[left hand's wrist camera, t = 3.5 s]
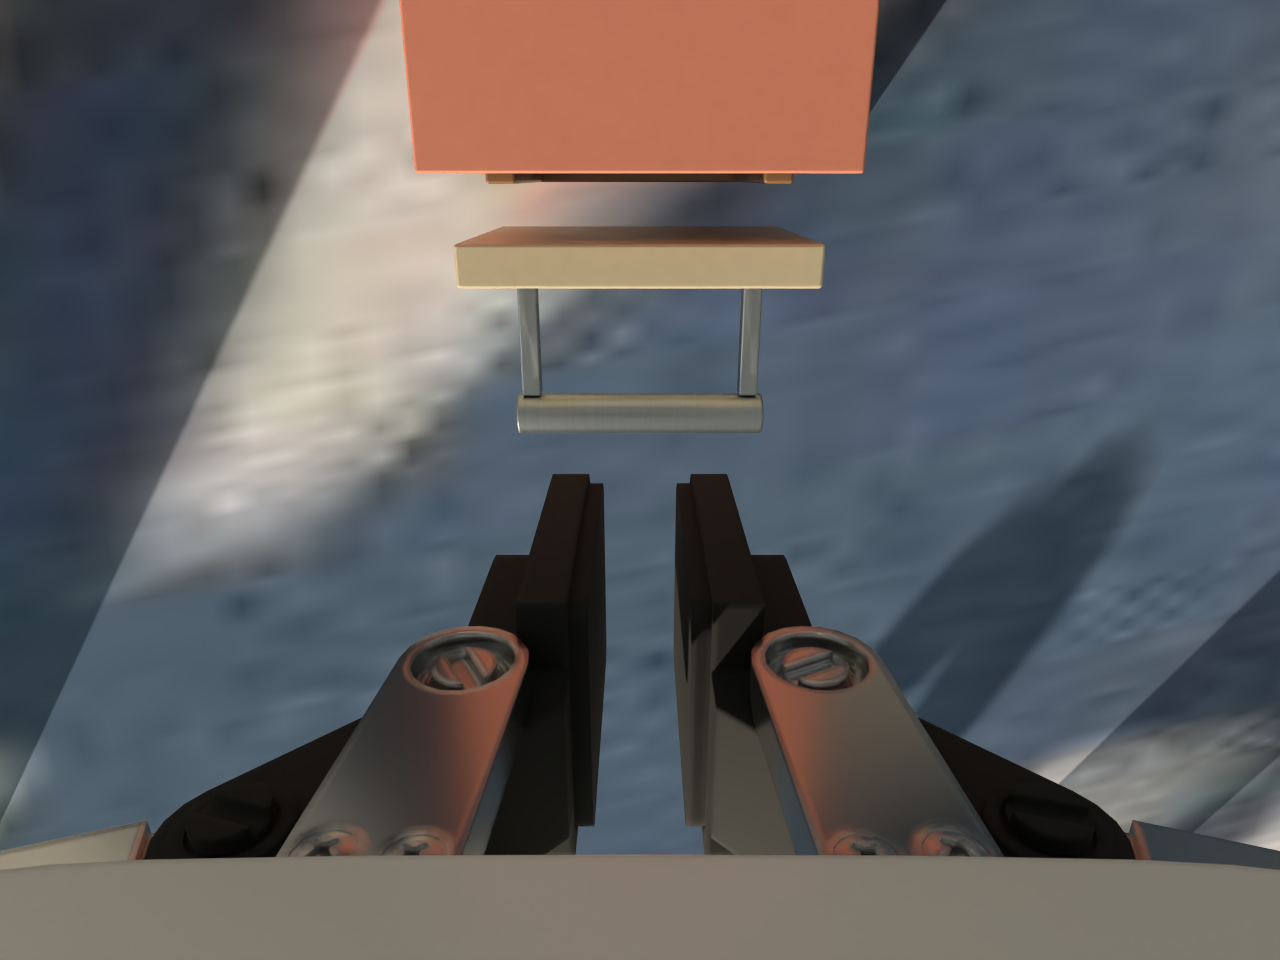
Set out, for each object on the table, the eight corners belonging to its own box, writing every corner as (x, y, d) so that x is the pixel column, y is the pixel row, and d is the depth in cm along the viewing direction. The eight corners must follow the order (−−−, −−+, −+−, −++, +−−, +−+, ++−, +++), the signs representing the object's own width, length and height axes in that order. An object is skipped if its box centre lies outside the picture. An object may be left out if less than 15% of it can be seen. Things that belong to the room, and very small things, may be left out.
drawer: (768, 397, 32) (808, 467, 24) (511, 397, 32) (470, 467, 24) (814, -402, 23) (899, -681, 16) (464, -403, 23) (379, -682, 16)
